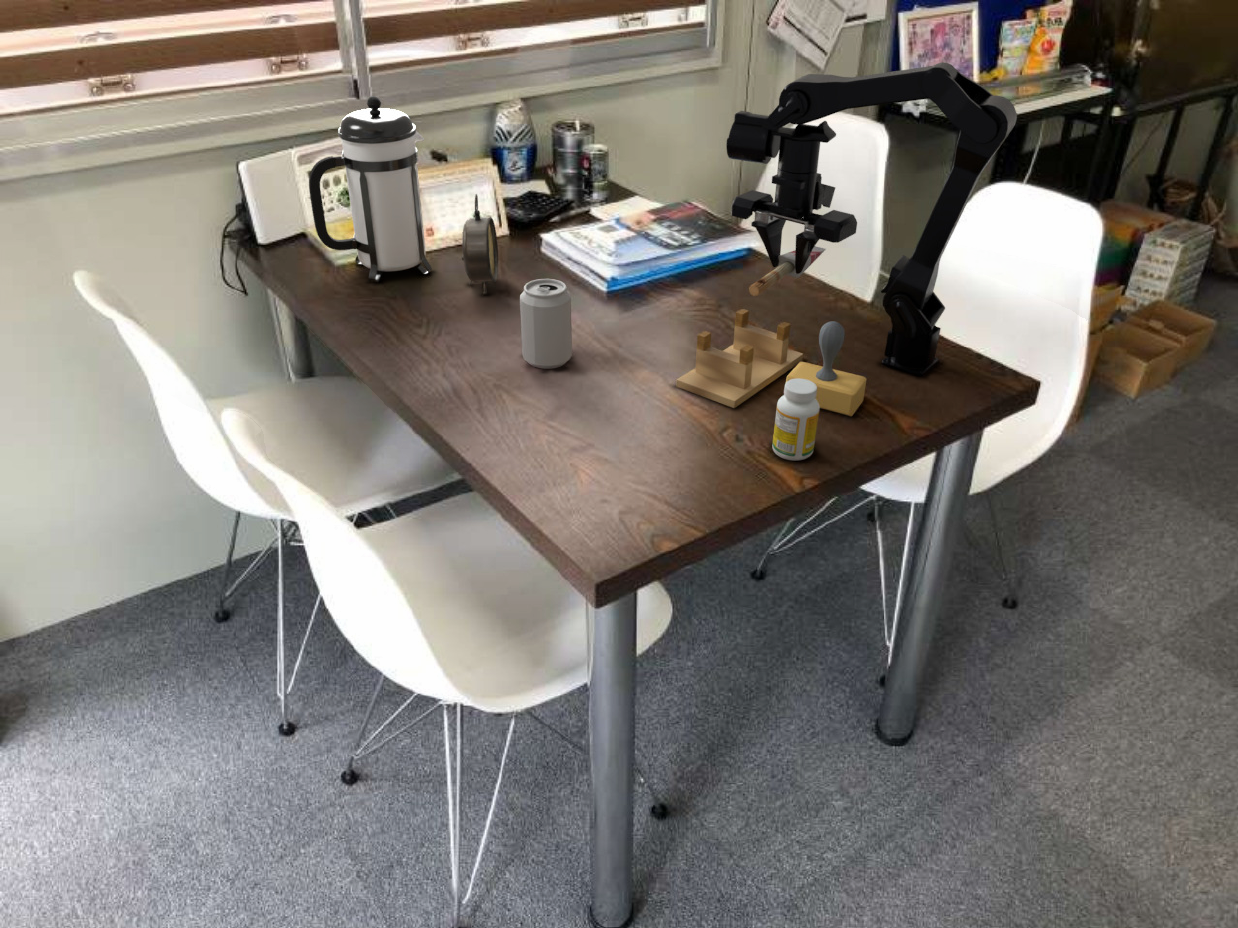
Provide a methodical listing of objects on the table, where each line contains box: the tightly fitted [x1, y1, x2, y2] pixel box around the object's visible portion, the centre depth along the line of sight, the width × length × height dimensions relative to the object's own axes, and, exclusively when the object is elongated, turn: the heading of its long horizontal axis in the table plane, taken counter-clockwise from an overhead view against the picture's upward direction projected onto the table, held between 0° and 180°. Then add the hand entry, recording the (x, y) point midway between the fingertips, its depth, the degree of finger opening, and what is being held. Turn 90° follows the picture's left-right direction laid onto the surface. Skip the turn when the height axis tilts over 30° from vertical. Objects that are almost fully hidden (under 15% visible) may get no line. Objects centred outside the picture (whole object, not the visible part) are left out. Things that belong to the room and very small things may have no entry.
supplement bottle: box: [771, 379, 821, 461], centre depth 128 cm, size 5×5×10 cm
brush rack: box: [675, 308, 804, 409], centre depth 147 cm, size 10×19×7 cm, turn 141°
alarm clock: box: [461, 193, 499, 296], centre depth 172 cm, size 11×5×16 cm, turn 179°
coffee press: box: [308, 95, 433, 284], centre depth 173 cm, size 17×16×30 cm
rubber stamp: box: [785, 320, 867, 417], centre depth 139 cm, size 10×6×12 cm, turn 61°
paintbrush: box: [748, 245, 827, 297], centre depth 154 cm, size 4×3×20 cm
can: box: [519, 278, 573, 370], centre depth 149 cm, size 8×8×12 cm
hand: (787, 269), depth 155 cm, fingers closed on paintbrush, 4 cm apart
